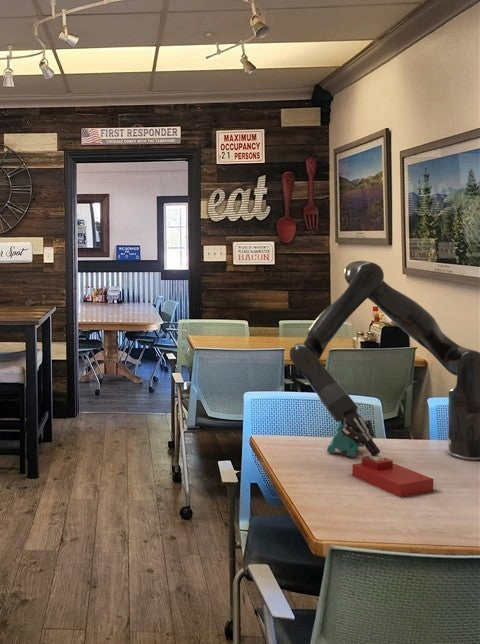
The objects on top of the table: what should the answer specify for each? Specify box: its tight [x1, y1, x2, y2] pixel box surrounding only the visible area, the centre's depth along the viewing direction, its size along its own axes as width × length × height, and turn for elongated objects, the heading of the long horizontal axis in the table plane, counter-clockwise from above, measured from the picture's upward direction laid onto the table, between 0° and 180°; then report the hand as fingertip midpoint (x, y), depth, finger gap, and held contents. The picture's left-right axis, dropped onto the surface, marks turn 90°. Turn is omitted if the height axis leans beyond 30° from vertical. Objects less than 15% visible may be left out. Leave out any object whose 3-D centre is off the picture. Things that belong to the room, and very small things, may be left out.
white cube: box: [368, 454, 386, 462], centre depth 171 cm, size 3×3×3 cm
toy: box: [326, 421, 365, 459], centre depth 193 cm, size 10×12×15 cm
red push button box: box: [351, 455, 434, 498], centre depth 167 cm, size 12×16×5 cm
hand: (377, 454), depth 171 cm, fingers closed
